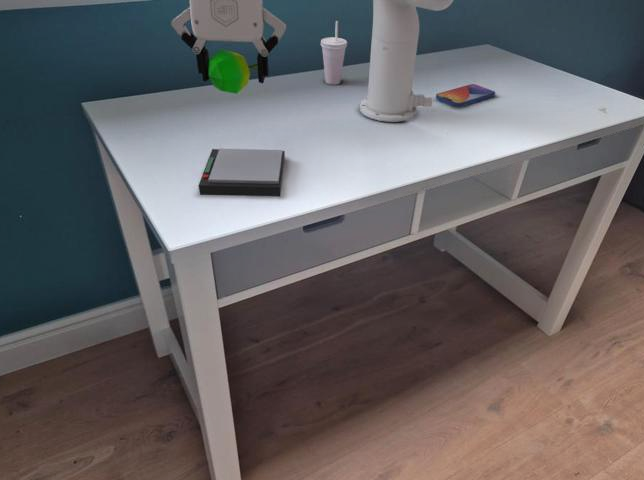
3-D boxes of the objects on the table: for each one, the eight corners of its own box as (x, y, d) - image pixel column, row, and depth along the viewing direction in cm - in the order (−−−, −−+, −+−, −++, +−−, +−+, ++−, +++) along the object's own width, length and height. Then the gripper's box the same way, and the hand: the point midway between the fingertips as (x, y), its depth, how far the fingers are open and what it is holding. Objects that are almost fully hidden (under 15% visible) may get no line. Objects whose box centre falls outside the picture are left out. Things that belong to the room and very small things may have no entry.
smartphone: (496, 96, 123) (497, 92, 122) (457, 108, 115) (458, 104, 114) (472, 87, 127) (473, 83, 126) (433, 98, 119) (434, 94, 118)
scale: (284, 159, 92) (284, 147, 90) (280, 196, 82) (279, 183, 80) (213, 158, 91) (211, 145, 89) (199, 194, 81) (197, 181, 79)
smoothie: (342, 87, 122) (345, 25, 113) (317, 84, 123) (317, 23, 114) (347, 79, 127) (350, 19, 118) (323, 76, 128) (324, 16, 119)
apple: (205, 44, 72) (258, 34, 77) (194, 65, 78) (244, 55, 82) (226, 91, 73) (277, 78, 78) (214, 108, 79) (263, 95, 83)
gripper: (148, -52, 64) (173, 85, 75) (284, -45, 65) (288, 89, 76) (163, -59, 70) (183, 69, 81) (288, -53, 71) (291, 73, 82)
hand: (234, 78), depth 79 cm, fingers closed on apple, 8 cm apart
